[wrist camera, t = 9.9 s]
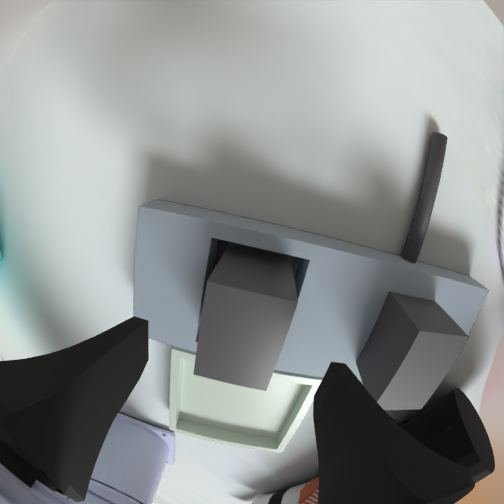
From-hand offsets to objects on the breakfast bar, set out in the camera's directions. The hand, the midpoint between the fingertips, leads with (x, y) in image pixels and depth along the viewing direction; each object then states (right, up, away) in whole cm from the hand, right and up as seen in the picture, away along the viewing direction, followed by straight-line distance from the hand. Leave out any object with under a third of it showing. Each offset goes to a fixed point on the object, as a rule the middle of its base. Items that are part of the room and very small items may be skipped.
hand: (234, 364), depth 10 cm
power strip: (+6, +5, +6) cm, 9 cm away
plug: (+1, +2, +7) cm, 7 cm away
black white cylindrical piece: (+10, -21, +14) cm, 27 cm away
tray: (-1, -7, +10) cm, 12 cm away
